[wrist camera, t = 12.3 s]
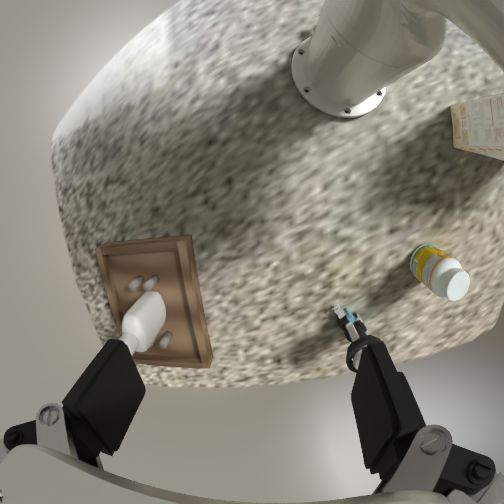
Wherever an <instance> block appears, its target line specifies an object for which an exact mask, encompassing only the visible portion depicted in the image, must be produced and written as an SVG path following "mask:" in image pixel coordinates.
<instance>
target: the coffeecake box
mask: <svg viewBox="0 0 504 504" xmlns="http://www.w3.org/2000/svg"><path fill="white" fill-rule="evenodd" d="M450 108H451V118H452V124H453V146H454V148H458V149H461V150H465V151H469V152H473V153H477V154H481V155H485V156H488V157H492V158H495V159H499V160H502V161H504V93H503V94H498V95H493V96H489V97H484V98H480V99H476V100H471V101H467V102H463V103H459V104H455V105H451V106H450Z"/></svg>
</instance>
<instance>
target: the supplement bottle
mask: <svg viewBox="0 0 504 504" xmlns="http://www.w3.org/2000/svg"><path fill="white" fill-rule="evenodd" d="M410 269H411V272H412V274H413V275H414V276H415V277H416V278H417V279H419V280H420V281H421V282H422V283H423V284H424V285H426V286H427V287H428V288H429V289H430V290H431V291H432V292H433V293H434V294H436V295H437V296H440V297H446V298H448V299H449V300H450V301H457V300H459V299H461V298H462V297H463V296H464V295H465V293H466V292H467V290H468V287H469V282H470V279H469V275H468V274H467V273H466V272H465V271H464V270H462V268H461V265H460V263H459V262H458V261H457V260H456V259H454V258H453V257H451V256H449V255H448V254H446V253H444V252H443V251H441V250H439V249H438V248H436V247H434V246H432V245H428V244H425V245H421V246H420V247H418V248H417V249H416V250H415V251H414V253H413V254H412V257H411V260H410Z"/></svg>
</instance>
